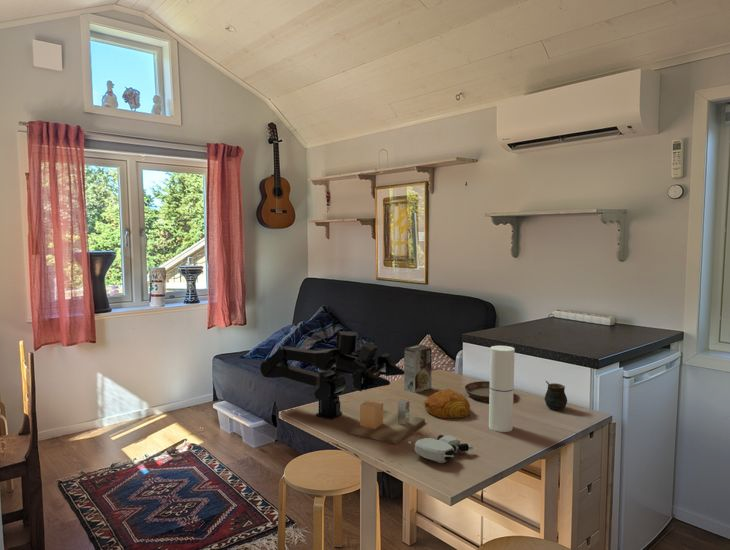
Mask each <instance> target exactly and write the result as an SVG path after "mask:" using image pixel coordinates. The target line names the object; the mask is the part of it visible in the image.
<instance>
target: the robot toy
mask: <svg viewBox="0 0 730 550" xmlns="http://www.w3.org/2000/svg"><path fill="white" fill-rule="evenodd" d="M407 443H409V444H414V452H416V454H417V455H418V456H420V457H422V458H425V459H427V460H430V461H434V462H436V463H438V464H443V463H446V462H447V461H450V460H452V459H453V458H454V457H455V454H456V453H458V451H460V452H468V451H469V450H473V449H474V446H473V445H471V444H468V443H461V439H460V438H458V437H455V436H452V435H443V434H438V436H437V438H436V439H435V438H432V437H424V438H421V439H418V440H416V441H414V442H413V441H408V442H407Z"/></svg>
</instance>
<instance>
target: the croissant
mask: <svg viewBox="0 0 730 550" xmlns="http://www.w3.org/2000/svg"><path fill="white" fill-rule="evenodd" d="M422 404H423V405H424V408H425V410H426V412H427V413H429V414H430V415H432V416H434V417H439V418H441V419H449V418H451V419H456V418H465V417H466V416H468V415H469V412H470V411H471V405H470V402H469V401H468V399H467V398H466V397H465V396H464V395H463V394H461V393H459V392H458V391H455V390H452V389H450V388H449V389H442V390H439V391H436V392H434V393H432V394H431V395H429V396H428V397H427V398H426V399H425V400H424V401H423V403H422Z"/></svg>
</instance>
